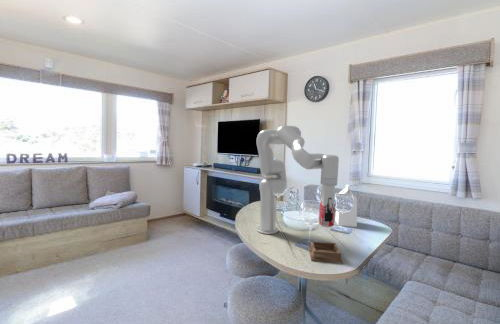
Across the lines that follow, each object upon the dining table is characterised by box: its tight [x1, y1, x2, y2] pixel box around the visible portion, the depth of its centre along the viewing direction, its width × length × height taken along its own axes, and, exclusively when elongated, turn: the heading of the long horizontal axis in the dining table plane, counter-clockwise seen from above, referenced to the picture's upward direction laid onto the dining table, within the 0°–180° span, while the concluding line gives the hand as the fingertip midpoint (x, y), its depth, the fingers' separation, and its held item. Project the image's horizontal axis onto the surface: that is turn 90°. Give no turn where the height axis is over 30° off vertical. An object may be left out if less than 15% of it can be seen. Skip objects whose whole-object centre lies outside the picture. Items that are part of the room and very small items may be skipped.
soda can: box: [318, 201, 336, 228], centre depth 123 cm, size 7×7×12 cm
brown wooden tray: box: [308, 240, 344, 264], centre depth 124 cm, size 14×14×4 cm
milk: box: [334, 184, 358, 228], centre depth 173 cm, size 12×12×26 cm
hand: (326, 218), depth 123 cm, fingers closed on soda can, 7 cm apart
